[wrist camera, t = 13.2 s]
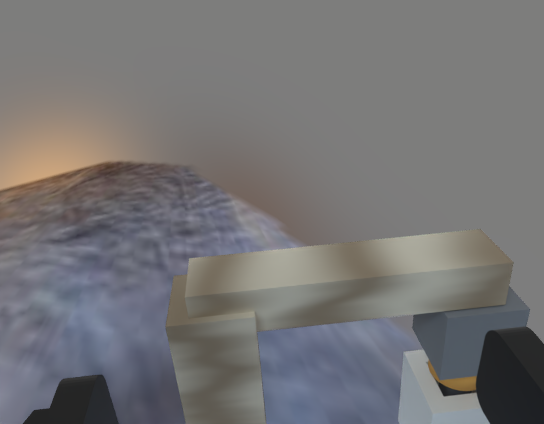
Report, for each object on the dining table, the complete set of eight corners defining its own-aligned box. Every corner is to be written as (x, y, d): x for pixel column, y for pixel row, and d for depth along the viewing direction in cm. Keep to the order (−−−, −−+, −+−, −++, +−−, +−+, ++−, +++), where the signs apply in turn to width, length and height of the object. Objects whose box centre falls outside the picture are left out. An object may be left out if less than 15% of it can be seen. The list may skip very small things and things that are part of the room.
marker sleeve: (423, 486, 28) (432, 413, 25) (398, 420, 32) (403, 351, 29) (500, 476, 28) (518, 403, 25) (465, 412, 32) (477, 343, 29)
